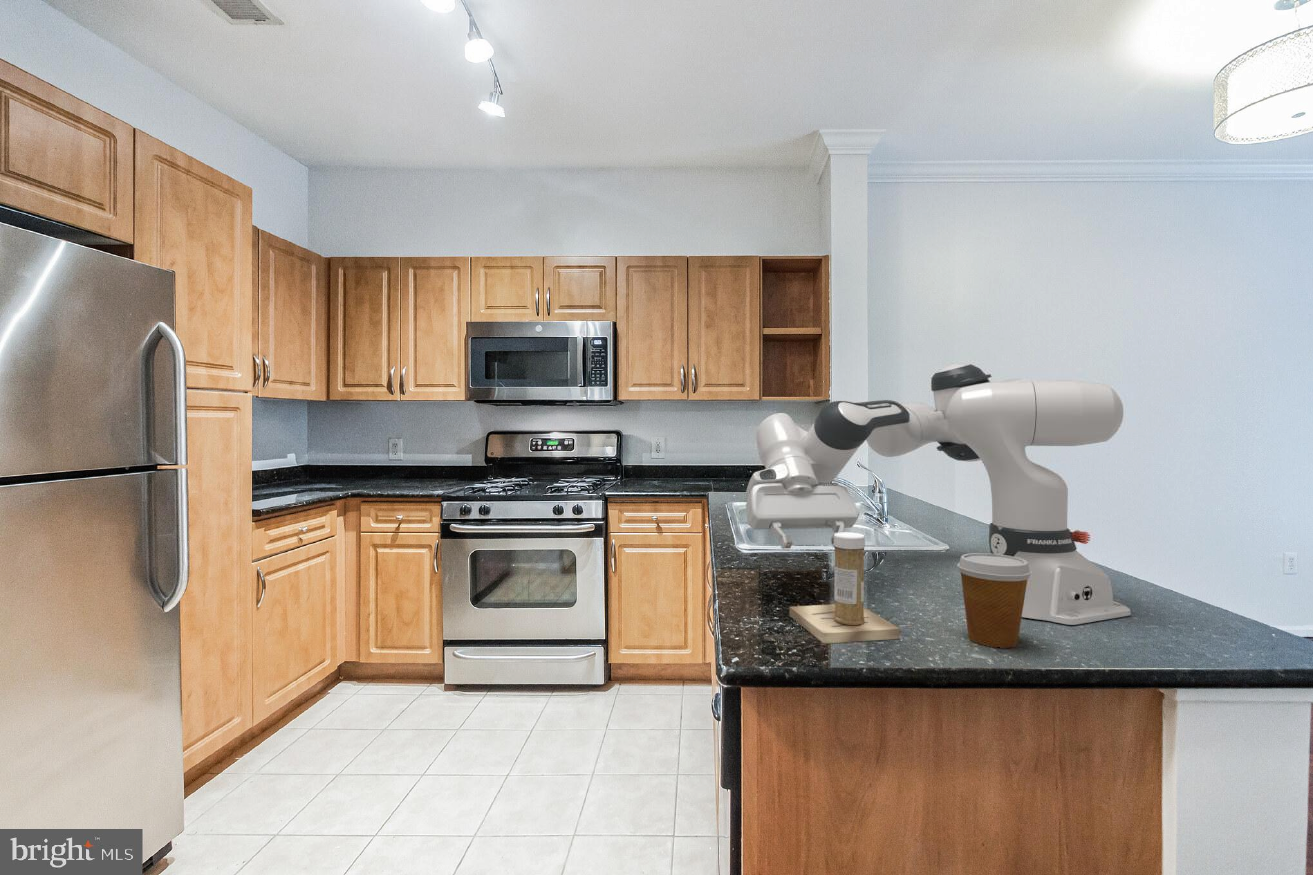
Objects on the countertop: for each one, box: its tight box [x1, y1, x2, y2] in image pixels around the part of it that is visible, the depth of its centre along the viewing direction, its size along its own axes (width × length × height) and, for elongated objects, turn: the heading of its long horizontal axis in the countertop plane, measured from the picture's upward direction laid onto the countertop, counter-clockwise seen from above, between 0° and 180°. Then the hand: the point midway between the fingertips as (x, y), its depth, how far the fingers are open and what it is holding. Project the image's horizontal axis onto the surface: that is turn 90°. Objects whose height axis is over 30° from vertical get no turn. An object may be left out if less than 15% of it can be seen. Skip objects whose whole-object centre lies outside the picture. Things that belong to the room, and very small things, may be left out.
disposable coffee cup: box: [956, 552, 1032, 649], centre depth 90 cm, size 10×10×12 cm
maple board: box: [788, 603, 901, 644], centre depth 96 cm, size 12×13×2 cm
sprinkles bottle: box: [833, 531, 866, 625], centre depth 94 cm, size 5×5×14 cm
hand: (813, 546), depth 106 cm, fingers open, 8 cm apart
